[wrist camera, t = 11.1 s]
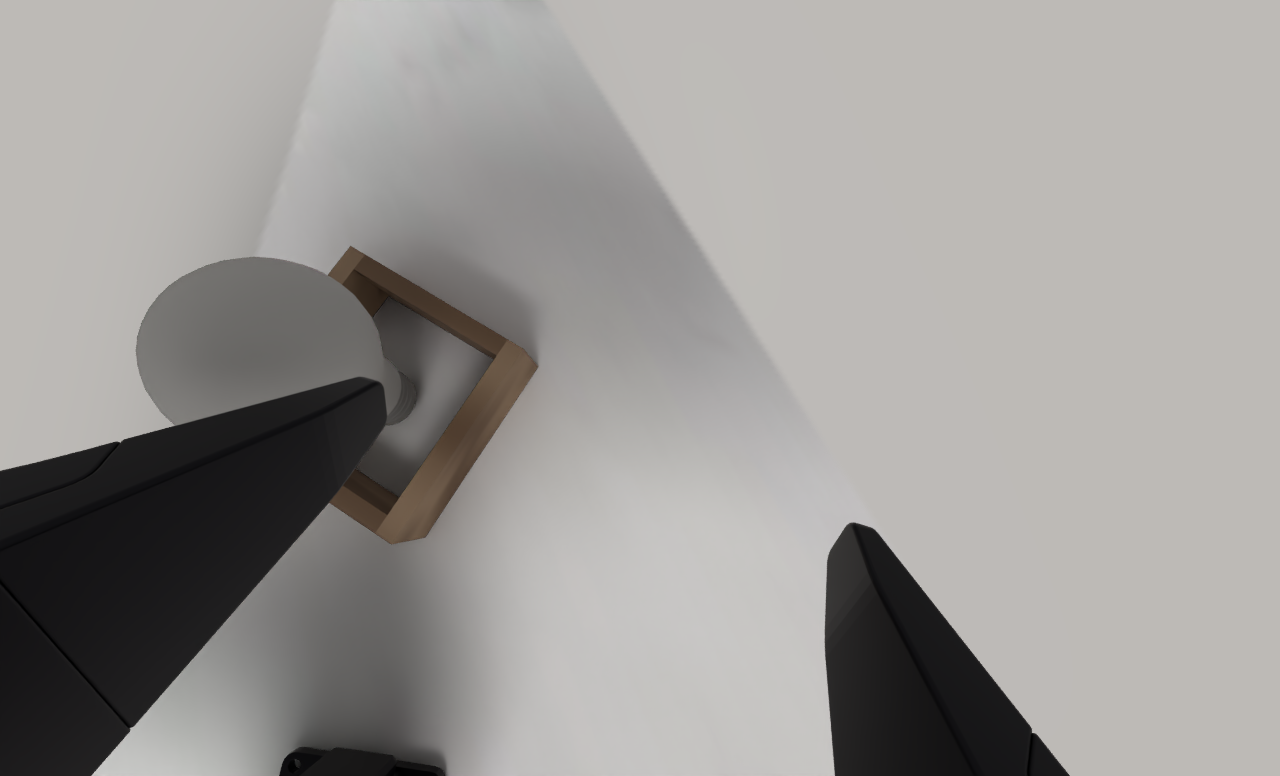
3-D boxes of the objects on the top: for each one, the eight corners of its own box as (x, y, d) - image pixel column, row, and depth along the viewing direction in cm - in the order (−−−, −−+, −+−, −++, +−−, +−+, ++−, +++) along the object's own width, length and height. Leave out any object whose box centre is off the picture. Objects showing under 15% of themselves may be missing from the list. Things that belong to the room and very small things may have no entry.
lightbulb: (486, 417, 23) (348, 353, 12) (371, 493, 22) (121, 496, 12) (421, 316, 24) (243, 176, 13) (310, 386, 24) (28, 297, 13)
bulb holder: (424, 537, 22) (391, 544, 19) (266, 432, 23) (211, 423, 20) (538, 366, 24) (523, 349, 21) (385, 275, 25) (350, 245, 22)
